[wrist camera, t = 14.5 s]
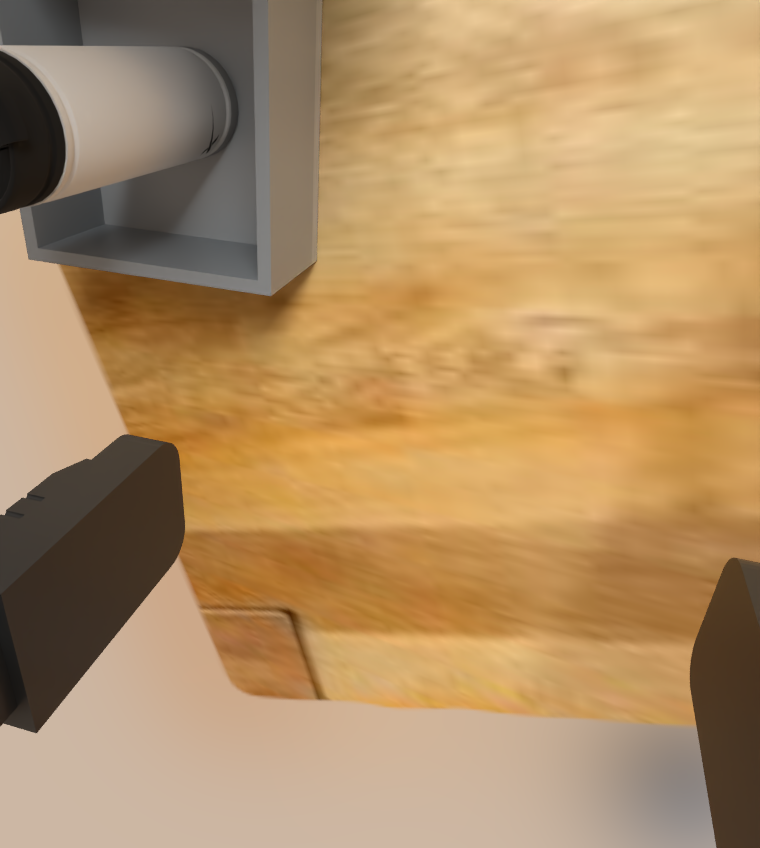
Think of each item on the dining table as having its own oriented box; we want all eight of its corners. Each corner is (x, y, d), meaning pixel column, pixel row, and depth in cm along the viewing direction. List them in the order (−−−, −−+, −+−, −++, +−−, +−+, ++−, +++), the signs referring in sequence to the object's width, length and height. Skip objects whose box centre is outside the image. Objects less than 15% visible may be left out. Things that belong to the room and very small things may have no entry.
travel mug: (258, 143, 44) (45, 203, 26) (169, 167, 46) (-81, 237, 29) (225, 31, 41) (-34, 19, 24) (132, 62, 43) (-165, 71, 26)
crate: (66, -75, 42) (-36, -100, 35) (323, -63, 39) (267, -88, 32) (104, 231, 50) (28, 259, 43) (316, 260, 47) (271, 296, 40)
